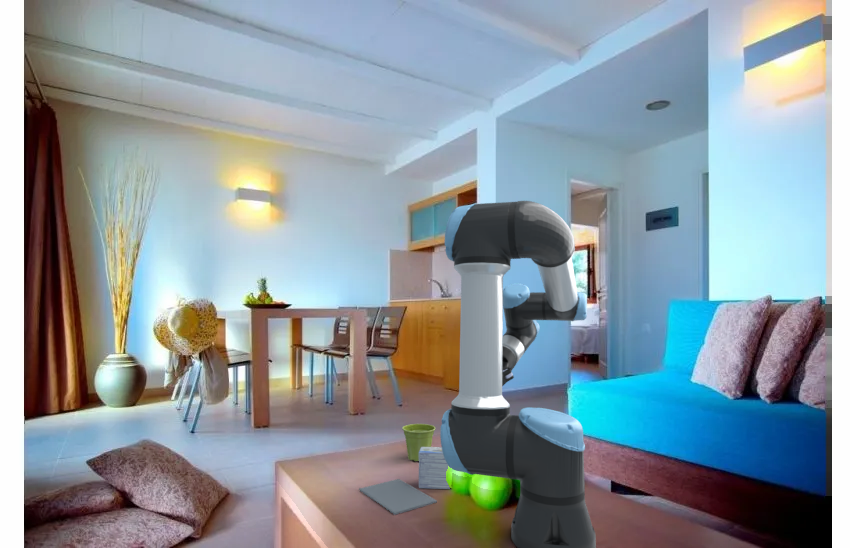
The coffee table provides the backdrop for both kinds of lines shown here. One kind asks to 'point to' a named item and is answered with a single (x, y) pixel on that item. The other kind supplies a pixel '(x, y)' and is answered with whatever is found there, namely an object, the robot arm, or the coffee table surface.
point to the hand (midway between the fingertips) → (459, 414)
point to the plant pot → (417, 438)
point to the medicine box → (432, 468)
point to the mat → (397, 496)
